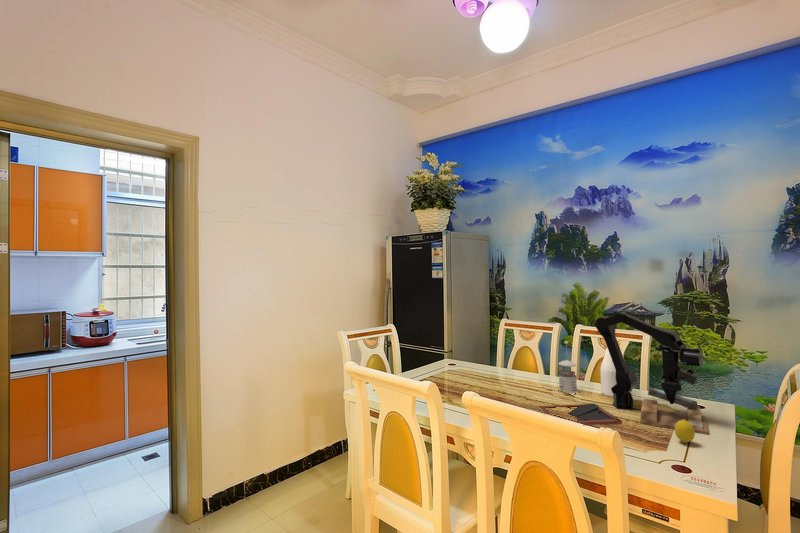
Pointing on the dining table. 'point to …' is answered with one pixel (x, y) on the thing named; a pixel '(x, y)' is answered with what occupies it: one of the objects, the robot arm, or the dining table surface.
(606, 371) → the wine bottle
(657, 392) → the picture frame
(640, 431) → the dining table surface
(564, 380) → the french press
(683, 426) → the lemon
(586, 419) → the picture frame
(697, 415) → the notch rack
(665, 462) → the dining table surface
